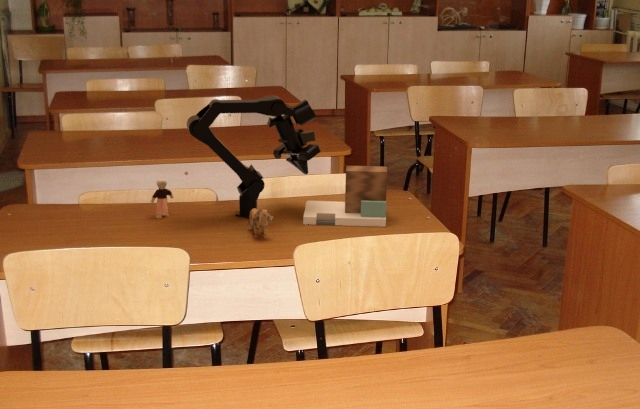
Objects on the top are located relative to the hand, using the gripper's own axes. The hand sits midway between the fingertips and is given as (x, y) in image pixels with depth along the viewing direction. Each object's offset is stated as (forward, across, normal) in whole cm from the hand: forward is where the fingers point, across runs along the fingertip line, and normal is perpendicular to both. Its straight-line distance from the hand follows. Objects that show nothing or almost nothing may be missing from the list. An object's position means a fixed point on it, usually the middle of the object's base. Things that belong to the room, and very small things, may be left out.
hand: (306, 173), depth 257 cm
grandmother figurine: (-8, +24, +41) cm, 48 cm away
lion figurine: (+4, -6, +28) cm, 29 cm away
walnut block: (+16, -16, -5) cm, 23 cm away
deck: (+16, -11, 0) cm, 19 cm away
